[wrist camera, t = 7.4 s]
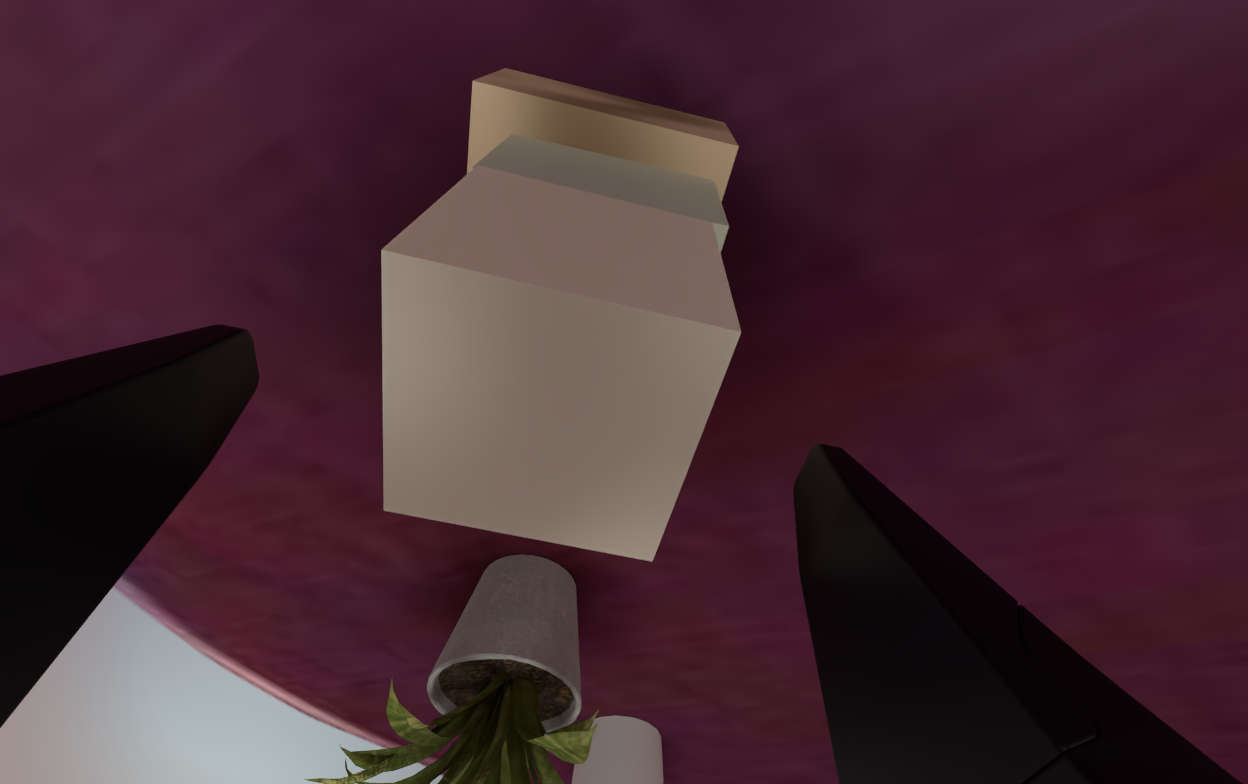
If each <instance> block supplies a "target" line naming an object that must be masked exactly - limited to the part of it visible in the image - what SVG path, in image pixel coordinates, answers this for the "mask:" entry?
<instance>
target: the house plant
mask: <svg viewBox="0 0 1248 784" xmlns="http://www.w3.org/2000/svg"><path fill="white" fill-rule="evenodd" d="M427 691H428V695H429V699H430V701H431V702H432V704H433V705H434V706H435V708H436V709H437V710H438V711H439V712H440V713H441V714H443V715H442V716H440V717H438V718H437V719H435V720H434V721H432V722H431V723H429V724H428V725H424V724H423V723H421V722H420V721H419V720H418V719H417V718H415V717H414V716H413V715H412V714H410V713H409V712H408V711H407V710H406V709H405V708H404V707H403V706H402V705H401V704H400V703H399V701H398V699H397V697H396V695H395V693H394V691H393V684H392V680H391V687H390V693H389V698H388V704H387V709H386V713H387V716H388V720H389V723H390V725H391V727H392V728H393V730H394V731H395V733H397V734H398V735H399V736H400V737H402V738H403V739H405V740H407V741H410V742H412V744H410V745H406V746H401V747H395V748H389V749H381V750H370V751H356V752H350V751H348V750H346V749H344V748H342V747H341V749H342V750H343V751H344V753H345V754H346V755H347V756H348V757H349V758H350V759H351V760H352V762H353V763H354V764H355V765H356V766H358V767H361V768H363V769H366V770H364V771H361V772H358V773H356V774H354V775H353V774H352V773H351V772H350V771H349V770H348V769H347V764H346V762H345V766H346V771H347V773H348V777H344V778H341V779H322V778H321V779H320V778H319V779H308V780H309V781H314V782H319V783H324V784H354V783H358V784H430V782H431V781H432V780H434V779H435V778H436V777H437V776H439V775H440V774H442V773H443V772H444V771H446V770H447V769H448V768H449V770H448V771H447V772H446V774H445V775H444V776H443V778H442V779H441V780H440V782H439V783H438V784H531V782H530V775H529V768H530V772H531V775H532V779H533V782H534V784H539V782H538V779H537V776H536V772H535V769H534V765H533V762H532V759H533V761H534V764H535V767H536V770H537V772H538V775H539V778H540V780H541V783H542V784H565V783H564V782H563V781H562V779H561V778H560V776H559V775H558V773H557V772H556V770H555V769H554V767H553V765H552V763H551V761H550V758H549V756H548V754H547V752H546V750H548V751H549V752H551V753H552V754H553V755H555V756H556V757H558V758H560V759H562V760H564V761H566V762H569V763H573V764H583V763H584V762H585V761H586V760H587V759H588V755H589V751H590V746H591V742H592V737H593V734H594V731H595V729H596V727H597V724H596V725H595V726H594V727H593V728H591V726H592V724H593V721H594V719H595V717H596V715H597V713H598V711H599V710H598V711H597V712H596V713H595V714H594V715H593V716H592V717H591V718H590V719H587V720H583V721H580V722H577V723H574V724H571V723H573V722H574V721H575V719H576V718H577V716H578V714H579V712H580V710H581V684H580V662H579V640H578V618H577V596H576V585H575V582H574V579H573V577H572V576H571V575H570V574H569V573H568V571H567V570H566V569H564V568H563V567H561V566H560V565H559V564H557V563H555V562H553V561H551V560H549V559H546V558H542V557H538V556H534V555H522V554H520V555H511V556H506V557H503V558H500V559H498V560H496V561H494V562H493V563H491V564H490V565H489V566H488V567H487V569H486V570H485V571H484V573H483V575H482V577H481V579H480V581H479V582H478V584H477V586H476V588H475V590H474V592H473V594H472V596H471V598H470V600H469V602H468V603H467V605H466V607H465V609H464V611H463V613H462V615H461V617H460V619H459V621H458V623H457V624H456V626H455V628H454V630H453V632H452V634H451V636H450V638H449V640H448V642H447V644H446V646H445V647H444V649H443V651H442V653H441V655H440V657H439V659H438V661H437V663H436V665H435V667H434V668H433V670H432V672H431V674H430V676H429V680H428V684H427ZM570 724H571V725H570ZM434 725H438V726H437V727H435V728H434V729H433V730H431V731H430V730H429V729H427V728H426V727H427V726H434ZM590 728H591V729H590ZM463 732H464V733H463ZM461 733H463V734H462V735H461V736H460V737H459V738H458V739H457V740H456V742H455V743H454V744H453V745H452V746H451V747H450V748H449V749H448V750H447V751H446V753H445V754H444V755H443V756H442V757H441V758H440V759H438V760H437V761H435V762H434V763H432V764H431V765H429V766H427V767H426V768H424V769H423V770H421V771H420V772H418V773H417V774H415V775H413V776H412V777H409V778H406V779H403V780H401V781H398V782H395V783H367V782H362V781H364V780H367V779H369V778H371V777H374V776H376V775H378V774H380V773H382V772H388V771H394V770H397V769H400V768H403V767H406V766H409V765H411V764H414V763H416V762H419V761H422V760H423V759H425V758H427V757H428V756H430V755H432V754H433V753H435V752H437V751H438V750H440V749H442V748H443V747H444V746H445V745H446V744H447V743H448V742H450V741H451V740H452V739H453V738H454V737H455V736H457V735H459V734H461ZM545 749H546V750H545ZM530 753H531V754H530ZM531 756H532V758H531ZM454 761H455V762H454ZM451 765H452V766H451ZM450 766H451V767H450Z"/></svg>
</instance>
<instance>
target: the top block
mask: <svg viewBox="0 0 1248 784" xmlns="http://www.w3.org/2000/svg"><path fill="white" fill-rule="evenodd" d="M477 165H480V166H485V167H489V168H493V169H497V170H501V171H505V172H509V173H513V174H517V175H521V176H525V177H529V178H533V179H538V180H542V181H546V182H550V183H554V184H558V185H562V186H566V187H570V188H574V189H578V190H582V191H586V192H590V193H595V194H599V195H603V196H607V197H611V198H615V199H619V200H623V201H627V202H631V203H635V204H639V205H643V206H648V207H652V208H656V209H660V210H664V211H668V212H672V213H676V214H680V215H684V216H688V217H692V218H696V219H700V220H705V221H708V222H712V224H713V227H714V231H715V235H716V239H717V242H718V246H719V250H720V254H721V250H722V247H723V244H724V241H725V238H726V235H727V231H728V228H729V224H728V221H727V218H726V215H725V212H724V209H723V206H722V203H721V200H720V197H719V194H718V191H717V188H716V185H715V182H714V180H711V179H707V178H703V177H698V176H694V175H690V174H685V173H681V172H677V171H673V170H668V169H664V168H660V167H655V166H651V165H647V164H643V163H638V162H634V161H630V160H625V159H621V158H617V157H613V156H608V155H604V154H600V153H595V152H591V151H587V150H582V149H578V148H574V147H570V146H565V145H561V144H557V143H552V142H548V141H544V140H540V139H535V138H531V137H527V136H522V135H518V134H514V133H512V134H511V135H510V136H508V137H507V138H506V139H505V140H504V141H502V142H501V143H500V144H499V145H498V146H497V147H495V148H494V149H493V150H492V151H491V152H489V153H488V154H487V155H486V156H485V157H484V158H482V159H481V160H480V161H479V162H478V163H476V164H475V165H474V166H473V167H472V168H471V171H472V170H473V169H474V168H475V167H476V166H477Z"/></svg>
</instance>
